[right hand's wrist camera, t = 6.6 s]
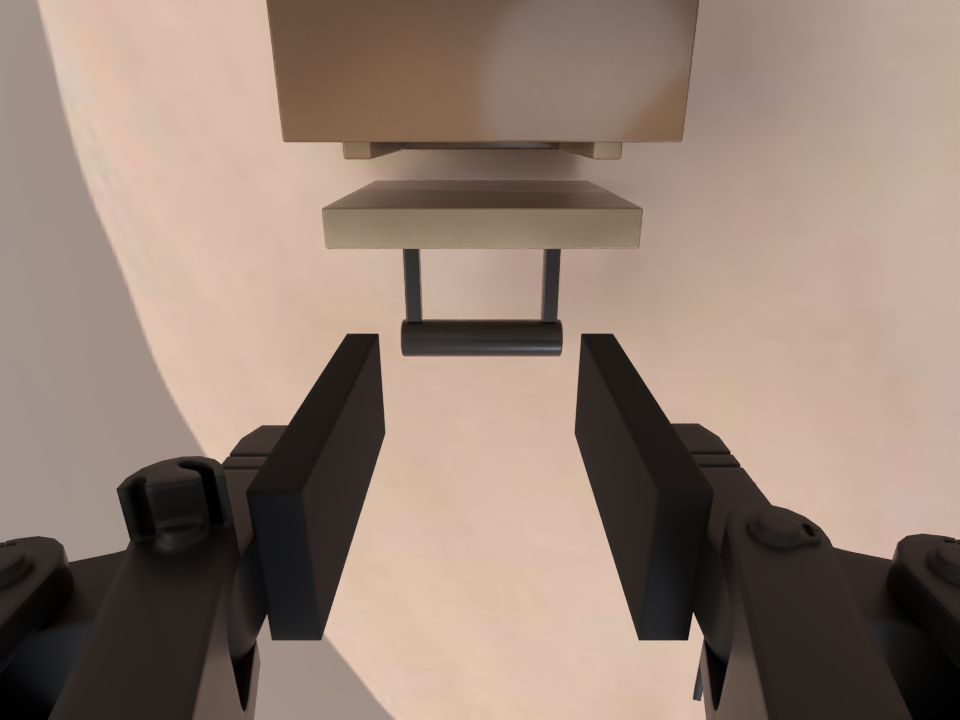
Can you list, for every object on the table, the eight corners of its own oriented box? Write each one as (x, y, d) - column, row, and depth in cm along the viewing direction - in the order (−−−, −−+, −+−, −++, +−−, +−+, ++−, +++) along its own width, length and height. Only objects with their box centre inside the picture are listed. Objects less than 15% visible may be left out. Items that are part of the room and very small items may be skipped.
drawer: (579, 323, 28) (623, 410, 19) (383, 323, 28) (341, 410, 19) (625, -370, 19) (744, -779, 10) (339, -370, 19) (223, -778, 10)
